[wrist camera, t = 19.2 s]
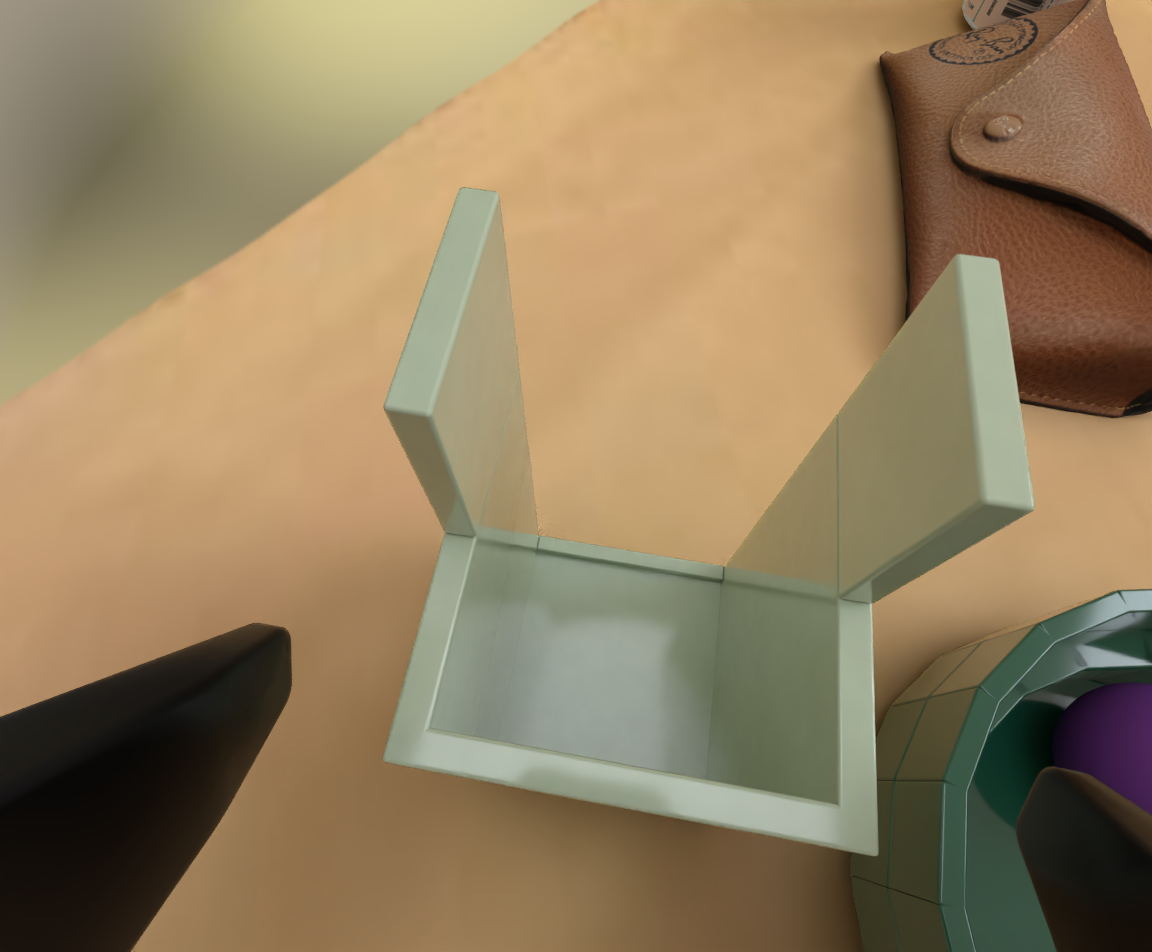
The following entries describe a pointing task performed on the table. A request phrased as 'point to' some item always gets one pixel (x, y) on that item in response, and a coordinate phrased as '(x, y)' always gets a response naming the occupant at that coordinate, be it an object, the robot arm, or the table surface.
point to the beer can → (1002, 10)
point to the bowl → (982, 777)
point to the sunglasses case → (1037, 195)
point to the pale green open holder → (688, 573)
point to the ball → (1110, 739)
